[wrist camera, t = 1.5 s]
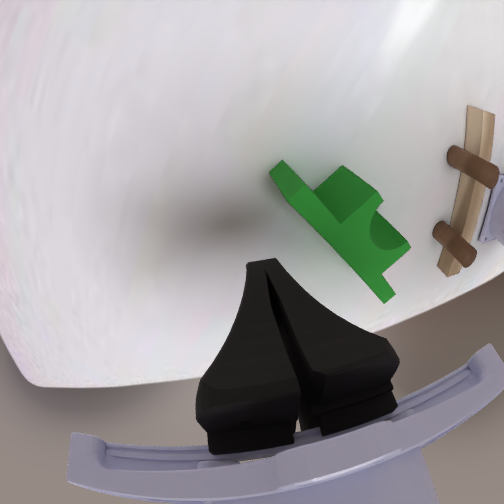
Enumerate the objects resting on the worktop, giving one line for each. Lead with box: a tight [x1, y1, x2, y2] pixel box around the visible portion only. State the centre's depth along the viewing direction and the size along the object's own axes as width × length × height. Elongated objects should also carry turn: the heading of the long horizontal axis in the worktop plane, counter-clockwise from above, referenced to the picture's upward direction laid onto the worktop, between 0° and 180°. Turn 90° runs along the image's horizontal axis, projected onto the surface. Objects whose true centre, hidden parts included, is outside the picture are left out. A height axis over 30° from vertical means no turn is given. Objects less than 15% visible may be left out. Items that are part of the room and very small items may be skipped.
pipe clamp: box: [269, 160, 411, 304], centre depth 16 cm, size 11×4×5 cm, turn 45°
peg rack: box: [433, 106, 499, 277], centre depth 16 cm, size 4×16×4 cm, turn 6°
